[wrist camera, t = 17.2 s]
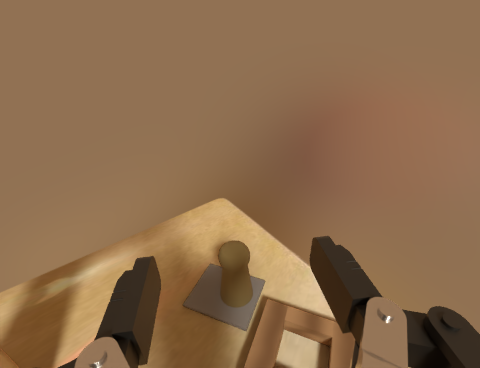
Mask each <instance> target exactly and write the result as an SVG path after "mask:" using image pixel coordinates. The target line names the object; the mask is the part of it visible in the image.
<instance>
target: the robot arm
mask: <svg viewBox="0 0 480 368" xmlns="http://www.w3.org/2000/svg"><path fill="white" fill-rule="evenodd" d="M310 266H311V270H312V272H313V274H314V276H315V278H316V280H317V282H318V284H319V286H320V288H321V290H322V292H323V294H324V296H325V298H326V300H327V302H328V304H329V307H330V309H331V311H332V313H333V315H334V317H335V319H336V321H337V323H338V325H339V327H340V329H341V331H342V333H343V334H344V333H350V332H351V333H352V334H353V336H354V338H355V340H354V344H353V350H352V357H351V363H350V368H408V367H411V368H480V334H479V333H478V332H477V331H476V330H475V329H474V328H473V327H472V326H471V325H470V323H469V322H468V321H467V320H466V319H465V318H463V317H462V316H461V315H460V314H458V313H456V312H455V311H453V310H451V309H448V308H445V307H440V306H438V307H437V306H436V307H432V308H431V309H430V310H429V311H428V313H427V314H425V313H418V312H412V311H407V310H403V309H401V308H400V307H399V306H398V305H397V304H395V303H394V302H393V301H391V300H389V299H386V298H383V297H382V296H381V294H380V293H379V292H378V290H377V289H376V287H375V286H374V285H373V283H372V282H371V281H370V279H369V278H368V276H367V275H366V274H365V272H364V271H363V270H362V269H361V267H360V265H359V264H358V263H357V262H356V260H355V259H354V257H353V256H352V254H351V253H350V252H349V251H348V250H347V249H345V248H344V247H343V246H341V245H335V244H334V242H333V241H332V239H331V238H330V237H329V236H323V237H315V238H313V240H312V246H311V254H310ZM160 290H161V279H160V275H159V271H158V268H157V265H156V261H155V258H154V256H151V257H142V258H137V259H136V261H135V264H134V267H133V270H129V271H125V272H124V273H123V274H122V276H121V277H120V278H119V279H118V281H117V283H116V286H115V288H114V291H113V293H112V296H111V299H110V302H109V304H108V307H107V309H106V312H105V314H104V317H103V320H102V322H101V325H100V328H99V330H98V333H97V335H96V338H95V340H94V341H93V342H92V343H90V344H89V345H88V346H87V347H86V348H84V350H83V351H82V352H81V353H80V355H79V356H78V358H76V359H75V360H73V361H71V362H69V363H67V364H65V365H62V366H60V367H58V368H138V365H145V364H147V361H148V356H149V350H150V345H151V339H152V334H153V328H154V323H155V318H156V312H157V307H158V301H159V296H160ZM0 368H19V367H18V366H17V364H16V363H15V362H14V361H13V360H12V359H11V358H10V357H9V356H8V355H7V354H6V353H5V352H4V351H3V350H2V349H1V348H0Z"/></svg>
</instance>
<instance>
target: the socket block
mask: <svg viewBox="0 0 480 368" xmlns="http://www.w3.org/2000/svg"><path fill="white" fill-rule="evenodd" d="M284 329H285V330H287V331H290V332H293V333H295V334H298V335H301V336H303V337H306V338H309V339H311V340H314V341H317V342H319V343H322V344H325V345H327V346H330V352H329V364H328V368H350V363H351V357H352V350H353V344H354V340H355V338H354V336H353V334H352V333H351V332H350V333H344V334H343V333H342V331H341V329H340V327H339V325H338V323H337V322H335V321H332V320H329V319H326V318H323V317H320V316H317V315H314V314H311V313H308V312H305V311H302V310H299V309H296V308H293V307H290V306H287V305H284V304H281V303H278V302H275V301H273V300H270V299H267V302H266V305H265V308H264V311H263V314H262V317H261V320H260V322H259V325H258V328H257V331H256V334H255V337H254V340H253V343H252V346H251V348H250V351H249V354H248V357H247V360H246V363H245V366H244V368H274V366H275V362H276V358H277V354H278V350H279V347H280V343H281V339H282V335H283V331H284Z"/></svg>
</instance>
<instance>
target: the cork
mask: <svg viewBox="0 0 480 368" xmlns="http://www.w3.org/2000/svg"><path fill="white" fill-rule="evenodd" d="M218 257H219V262H220V264H221V266H222V278H221V291H220V295H221V299H222V301H223V302H224V303H225V304H226V305H227V306H230V307H234V308H239V307H242V306H245V305H246V304H248V303H249V302H250V300H251V299H252V296H253V288H252V284H251V279H250V274H249V270H248V263H249V260H250V252H249V249H248V247H247V246H246V245H245V244H244V243H242V242H240V241H229V242H227V243H225V244H224V245H223V246H222V247H221V249H220V250H219V255H218Z"/></svg>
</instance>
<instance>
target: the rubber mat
mask: <svg viewBox="0 0 480 368" xmlns="http://www.w3.org/2000/svg"><path fill="white" fill-rule="evenodd" d="M221 278H222V267H220V266H217V265H213V264H210V265H209V266H208V268H207V269H206V271H205V272H204V274H203V275H202V277H201V278H200V280H199V281H198V283H197V284H196V286H195V287H194V289H193V290H192V292H191V293H190V295H189V296H188V298H187V299H186V301H185V302H184V304H183V306H185V307H187V308H190V309H192V310H195V311H197V312H200V313H202V314H205V315H207V316H210V317H212V318H214V319H217V320H219V321H222V322H224V323H227V324H229V325H232V326H234V327H237V328H239V329H242V330H244V331H246V330H247V328H248V325H249V323H250V320H251V317H252V315H253V312H254V310H255V307H256V304H257V302H258V299H259V296H260V294H261V291H262V289H263V286H264V283H265V280H262V279H258V278H255V277H252V276H250V279H251V284H252V288H253V296H252V299H251V300H250V302H249V303H248V304H246V305H245V306H242V307H239V308H234V307H230V306H227V305H226V304H225V303H224V302H223V301H222V299H221V295H220V291H221Z"/></svg>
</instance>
